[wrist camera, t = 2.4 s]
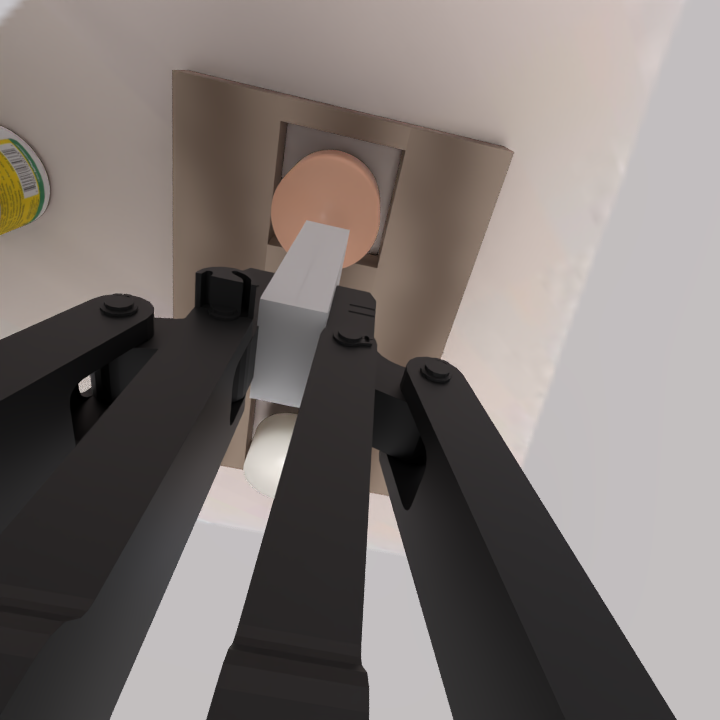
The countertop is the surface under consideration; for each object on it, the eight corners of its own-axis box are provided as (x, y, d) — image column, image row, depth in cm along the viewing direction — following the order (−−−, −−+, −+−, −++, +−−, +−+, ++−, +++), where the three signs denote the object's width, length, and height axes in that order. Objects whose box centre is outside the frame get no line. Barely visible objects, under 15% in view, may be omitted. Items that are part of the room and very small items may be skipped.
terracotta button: (278, 238, 24) (265, 258, 21) (289, 139, 22) (277, 147, 19) (368, 258, 24) (367, 280, 22) (390, 162, 22) (391, 174, 19)
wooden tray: (183, 438, 35) (173, 457, 33) (188, 70, 22) (172, 70, 21) (391, 476, 36) (391, 496, 34) (504, 146, 24) (513, 152, 22)
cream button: (251, 460, 32) (240, 493, 30) (258, 406, 30) (246, 437, 27) (319, 472, 33) (314, 506, 30) (331, 420, 30) (326, 452, 28)
